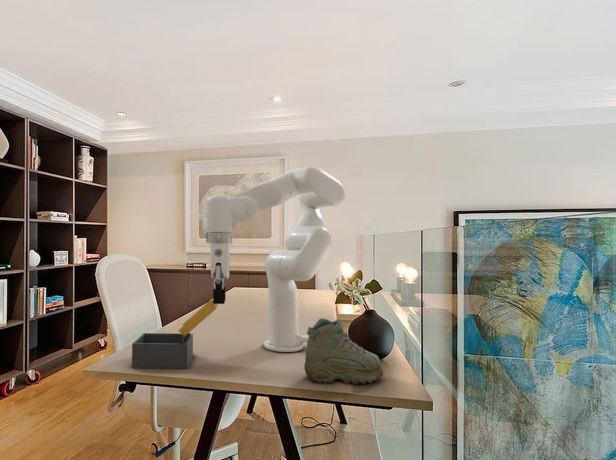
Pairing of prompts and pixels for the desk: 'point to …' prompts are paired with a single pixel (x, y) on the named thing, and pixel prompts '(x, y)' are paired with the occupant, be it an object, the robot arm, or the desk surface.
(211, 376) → the desk surface
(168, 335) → the bin
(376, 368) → the sneaker
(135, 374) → the desk surface
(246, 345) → the desk surface
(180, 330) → the tipping tray
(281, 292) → the robot arm
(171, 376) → the desk surface
